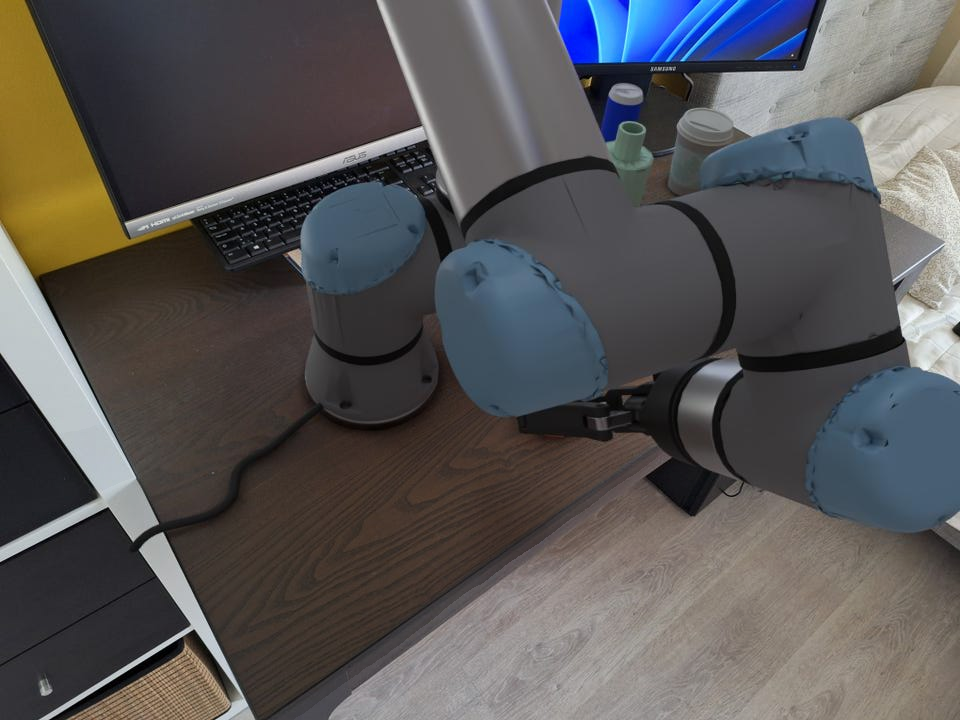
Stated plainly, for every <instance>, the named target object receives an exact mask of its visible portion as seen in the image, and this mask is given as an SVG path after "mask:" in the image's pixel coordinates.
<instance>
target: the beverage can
mask: <svg viewBox="0 0 960 720" xmlns="http://www.w3.org/2000/svg"><path fill="white" fill-rule="evenodd" d="M643 102H644V92H643V89H641V88H640V87H639V86H638V85H635V84H632V83H626V82H621V83H620V82H619V83H616V84H613V85H612V87H611V89H610V90H609V92H608V96H607V101H606V106H605V109H604V114H603V118H602V123H601V129H600V131H601V133H602V136H603V138H604V140H605V143H606V142H610V141H614V140H616V136H617V132H618V128H619V125H620V124H621V123H622V122H626V121H632V122H637V123H638V121H639V117H640V113H641V110H642V105H643Z"/></svg>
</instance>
